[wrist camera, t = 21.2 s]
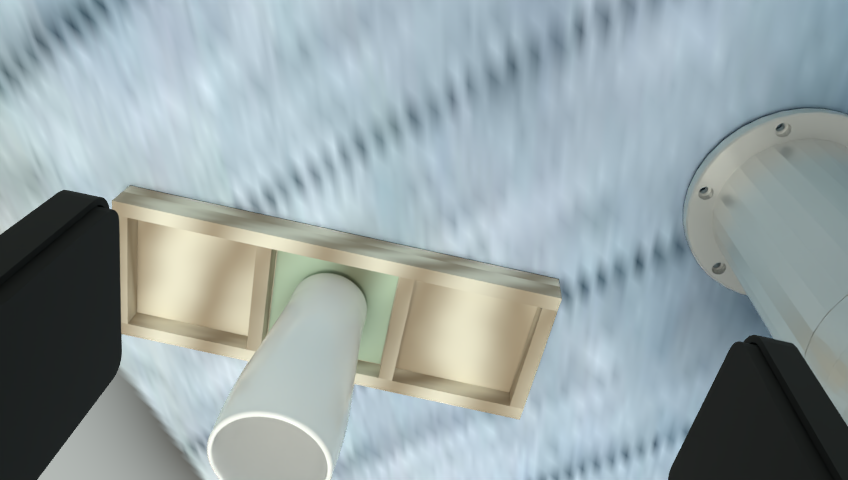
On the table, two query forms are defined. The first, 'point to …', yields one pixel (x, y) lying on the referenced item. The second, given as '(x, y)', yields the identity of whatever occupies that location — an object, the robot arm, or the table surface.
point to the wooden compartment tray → (351, 258)
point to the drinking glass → (294, 389)
